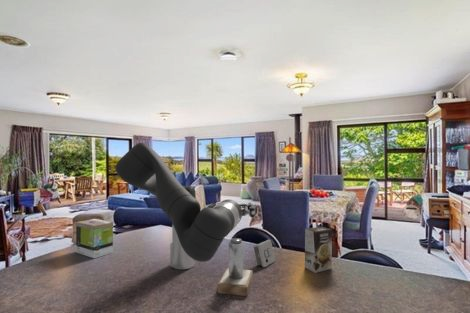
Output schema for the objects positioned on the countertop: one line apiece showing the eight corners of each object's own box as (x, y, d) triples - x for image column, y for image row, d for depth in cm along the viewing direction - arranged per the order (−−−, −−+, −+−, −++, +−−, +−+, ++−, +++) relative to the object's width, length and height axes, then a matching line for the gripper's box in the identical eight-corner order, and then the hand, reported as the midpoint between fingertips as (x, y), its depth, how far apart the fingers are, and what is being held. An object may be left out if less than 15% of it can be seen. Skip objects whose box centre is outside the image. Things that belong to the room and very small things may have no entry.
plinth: (217, 292, 91) (217, 283, 91) (226, 276, 104) (226, 267, 104) (247, 296, 89) (247, 285, 89) (252, 278, 102) (252, 269, 102)
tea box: (113, 252, 130) (113, 221, 130) (93, 259, 121) (93, 226, 121) (95, 246, 138) (95, 217, 138) (75, 252, 129) (75, 221, 129)
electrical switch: (264, 268, 112) (262, 245, 112) (253, 266, 115) (252, 243, 115) (275, 261, 119) (274, 239, 120) (265, 259, 122) (264, 238, 123)
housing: (227, 278, 95) (227, 241, 95) (230, 272, 100) (230, 237, 100) (242, 280, 94) (242, 242, 94) (244, 273, 99) (244, 238, 99)
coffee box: (315, 273, 107) (315, 232, 107) (304, 267, 112) (304, 228, 112) (332, 269, 111) (332, 229, 111) (320, 263, 117) (320, 225, 116)
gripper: (252, 202, 70) (259, 194, 86) (199, 201, 73) (215, 193, 89) (252, 232, 70) (259, 218, 86) (199, 229, 73) (215, 216, 89)
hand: (236, 205), depth 87 cm, fingers open, 8 cm apart
